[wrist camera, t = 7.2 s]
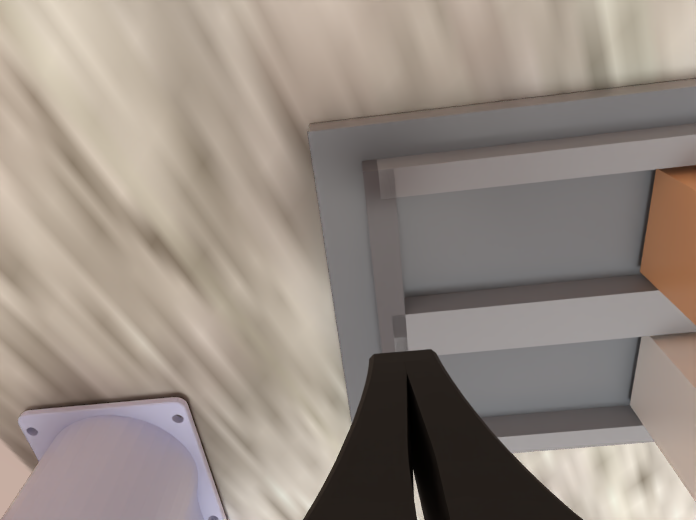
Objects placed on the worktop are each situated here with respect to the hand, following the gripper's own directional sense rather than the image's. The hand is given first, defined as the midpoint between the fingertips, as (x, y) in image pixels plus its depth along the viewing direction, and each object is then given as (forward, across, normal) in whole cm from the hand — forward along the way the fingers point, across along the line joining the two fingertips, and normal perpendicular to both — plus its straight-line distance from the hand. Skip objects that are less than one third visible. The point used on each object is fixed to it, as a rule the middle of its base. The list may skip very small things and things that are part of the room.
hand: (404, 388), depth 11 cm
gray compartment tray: (+10, -7, +4) cm, 13 cm away
